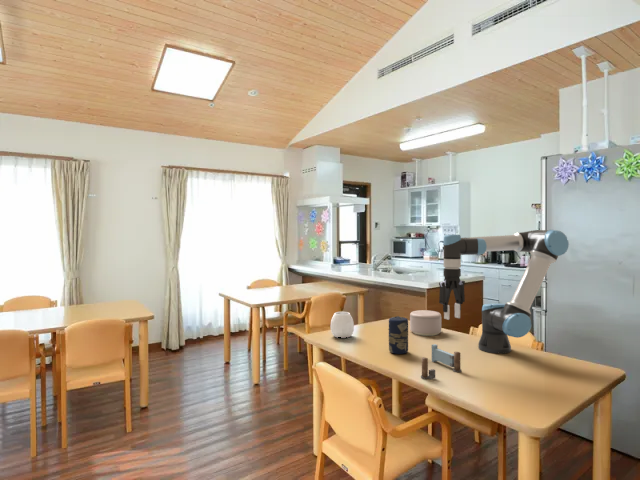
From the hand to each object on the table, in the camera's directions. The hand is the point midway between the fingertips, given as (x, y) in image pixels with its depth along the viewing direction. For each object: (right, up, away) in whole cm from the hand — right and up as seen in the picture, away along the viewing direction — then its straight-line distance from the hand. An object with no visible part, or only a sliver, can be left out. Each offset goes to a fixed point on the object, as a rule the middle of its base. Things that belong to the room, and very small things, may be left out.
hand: (452, 318), depth 187 cm
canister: (-22, -20, +15) cm, 33 cm away
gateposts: (-10, -20, -17) cm, 28 cm away
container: (+2, -19, +53) cm, 56 cm away
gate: (-6, -20, -5) cm, 21 cm away
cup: (-48, -19, +45) cm, 69 cm away
